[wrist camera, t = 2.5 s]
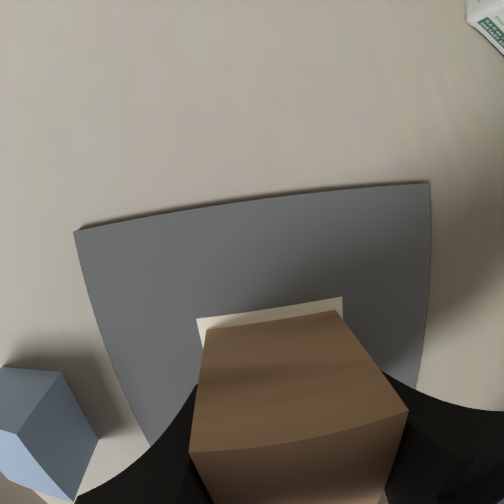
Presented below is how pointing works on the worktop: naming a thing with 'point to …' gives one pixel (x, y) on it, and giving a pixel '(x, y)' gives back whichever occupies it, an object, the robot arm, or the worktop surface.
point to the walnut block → (293, 415)
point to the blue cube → (43, 432)
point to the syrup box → (487, 20)
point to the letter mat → (257, 282)
